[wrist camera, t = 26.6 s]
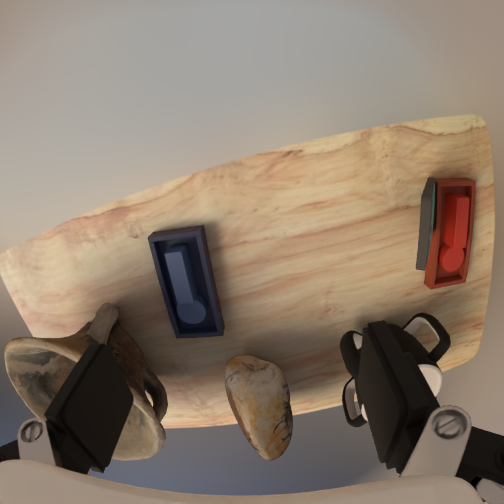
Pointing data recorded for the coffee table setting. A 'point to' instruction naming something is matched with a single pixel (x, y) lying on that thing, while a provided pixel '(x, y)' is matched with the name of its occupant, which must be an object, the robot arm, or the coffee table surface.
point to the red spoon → (454, 231)
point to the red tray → (434, 271)
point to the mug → (407, 343)
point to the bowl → (63, 361)
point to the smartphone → (426, 223)
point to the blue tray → (203, 279)
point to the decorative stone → (260, 404)
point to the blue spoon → (185, 285)
